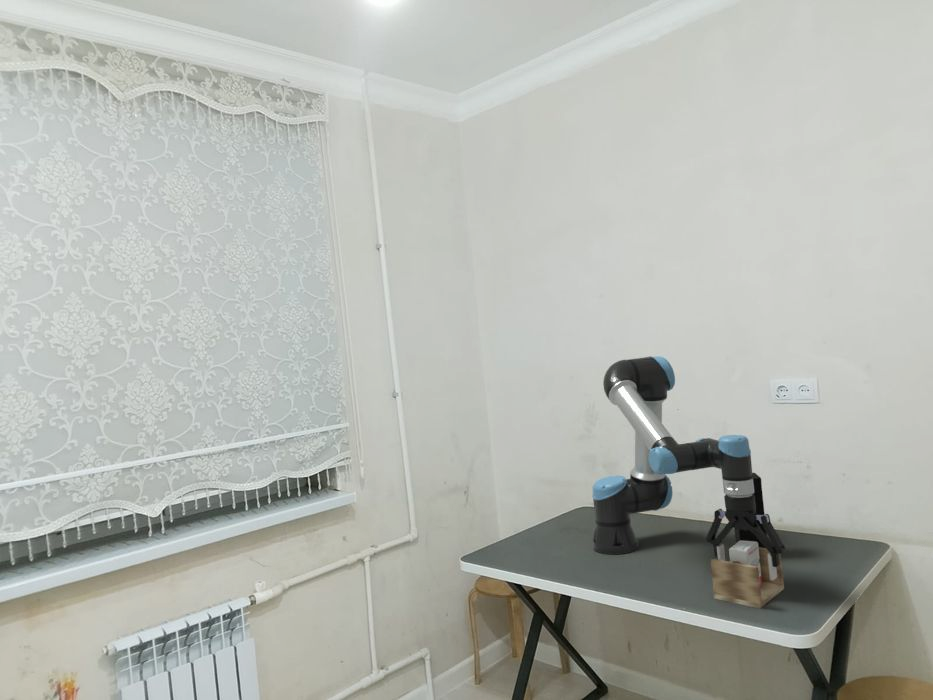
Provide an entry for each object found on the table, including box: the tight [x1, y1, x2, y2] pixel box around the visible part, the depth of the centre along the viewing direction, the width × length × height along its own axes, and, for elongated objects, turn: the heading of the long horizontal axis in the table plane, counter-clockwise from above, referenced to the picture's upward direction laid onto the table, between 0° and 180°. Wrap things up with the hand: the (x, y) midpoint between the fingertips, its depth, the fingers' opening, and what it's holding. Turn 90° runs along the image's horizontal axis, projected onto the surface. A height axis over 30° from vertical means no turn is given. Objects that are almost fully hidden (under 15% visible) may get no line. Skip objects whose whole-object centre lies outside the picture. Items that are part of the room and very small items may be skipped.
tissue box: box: [733, 472, 768, 548], centre depth 198 cm, size 8×8×28 cm
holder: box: [709, 547, 785, 609], centre depth 171 cm, size 12×15×10 cm
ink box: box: [728, 540, 762, 586], centre depth 171 cm, size 8×5×12 cm, turn 137°
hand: (747, 573), depth 171 cm, fingers open, 13 cm apart
